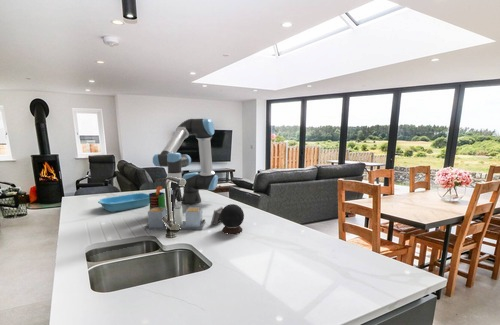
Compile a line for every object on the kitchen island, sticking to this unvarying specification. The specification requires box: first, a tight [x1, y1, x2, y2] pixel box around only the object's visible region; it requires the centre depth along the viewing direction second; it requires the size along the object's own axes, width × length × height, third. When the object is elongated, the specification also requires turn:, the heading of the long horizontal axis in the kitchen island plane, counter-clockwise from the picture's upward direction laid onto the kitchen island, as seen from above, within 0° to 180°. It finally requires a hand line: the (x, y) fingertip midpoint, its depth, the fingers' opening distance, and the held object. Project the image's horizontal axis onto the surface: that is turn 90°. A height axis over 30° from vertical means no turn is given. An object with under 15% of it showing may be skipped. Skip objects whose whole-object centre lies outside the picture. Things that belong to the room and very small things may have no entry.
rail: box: [144, 206, 206, 231], centre depth 153 cm, size 11×32×11 cm, turn 91°
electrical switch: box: [210, 206, 224, 226], centre depth 159 cm, size 9×5×9 cm, turn 157°
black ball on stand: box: [220, 203, 245, 235], centre depth 146 cm, size 13×13×15 cm
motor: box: [148, 185, 166, 210], centre depth 168 cm, size 10×9×20 cm
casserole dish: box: [98, 192, 150, 213], centre depth 193 cm, size 37×22×7 cm, turn 135°
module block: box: [175, 205, 184, 226], centre depth 153 cm, size 6×6×11 cm
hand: (176, 215), depth 153 cm, fingers open, 13 cm apart
